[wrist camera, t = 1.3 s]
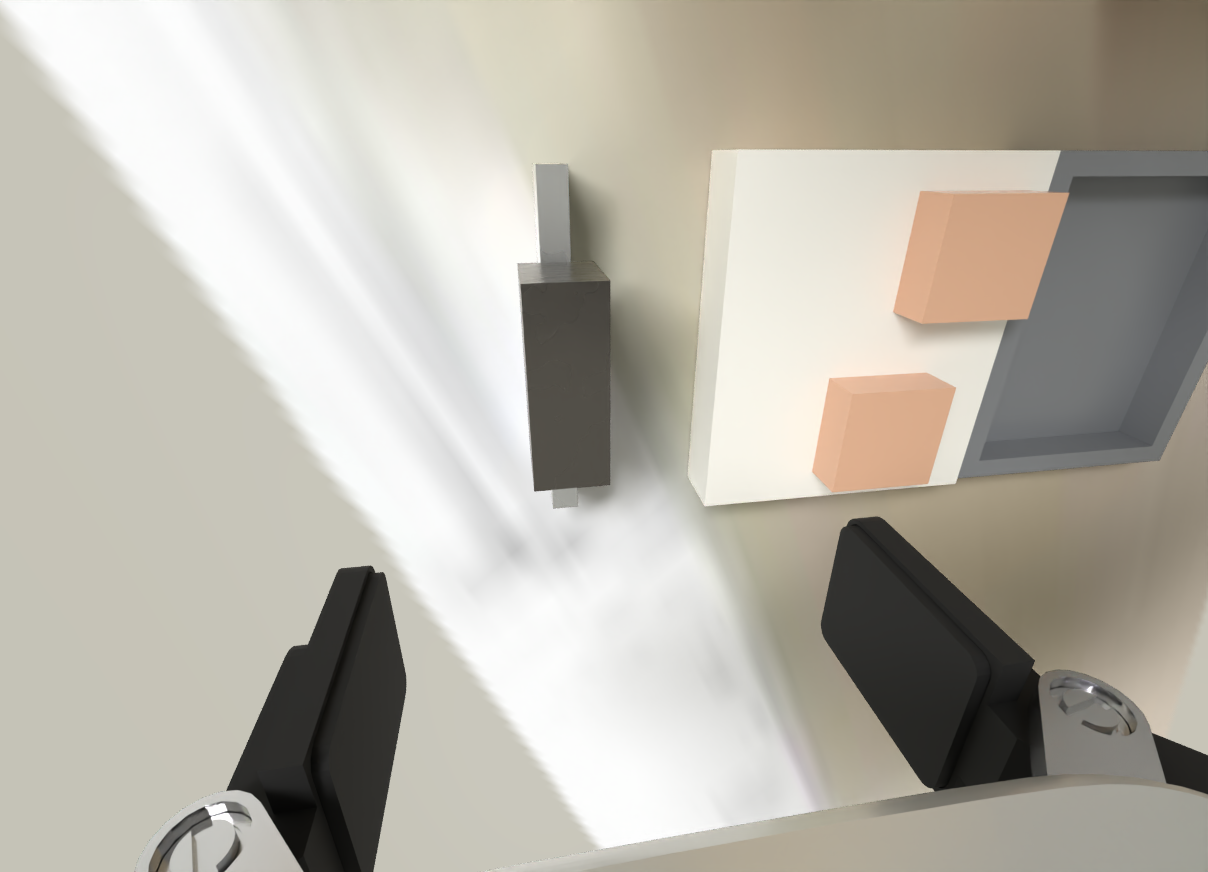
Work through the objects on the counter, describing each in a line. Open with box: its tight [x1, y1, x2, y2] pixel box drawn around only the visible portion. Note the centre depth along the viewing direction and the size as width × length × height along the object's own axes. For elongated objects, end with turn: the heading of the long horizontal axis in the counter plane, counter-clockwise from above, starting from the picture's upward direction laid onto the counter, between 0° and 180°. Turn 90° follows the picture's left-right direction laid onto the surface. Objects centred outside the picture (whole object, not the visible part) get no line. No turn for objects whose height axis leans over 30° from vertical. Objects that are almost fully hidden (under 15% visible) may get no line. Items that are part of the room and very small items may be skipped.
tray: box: [958, 151, 1208, 478], centre depth 30 cm, size 16×13×2 cm
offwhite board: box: [687, 149, 1061, 506], centre depth 27 cm, size 16×14×3 cm
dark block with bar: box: [517, 163, 610, 509], centre depth 24 cm, size 15×3×7 cm, turn 0°
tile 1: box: [812, 373, 956, 492], centre depth 27 cm, size 5×5×2 cm
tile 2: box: [893, 190, 1069, 324], centre depth 24 cm, size 5×5×2 cm
